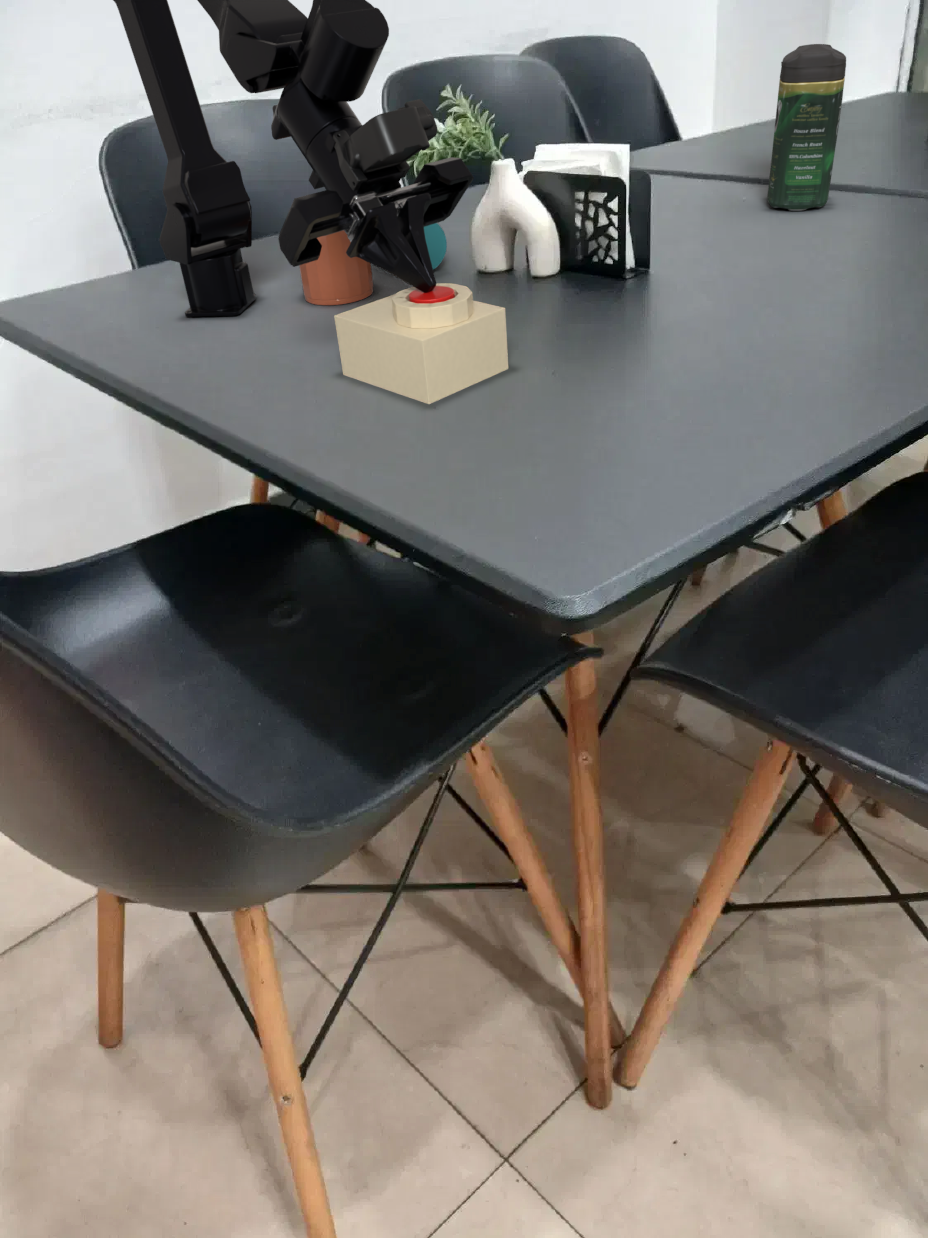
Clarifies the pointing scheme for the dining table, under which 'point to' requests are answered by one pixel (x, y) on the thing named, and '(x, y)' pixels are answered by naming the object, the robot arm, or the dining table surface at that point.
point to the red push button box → (423, 343)
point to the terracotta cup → (336, 274)
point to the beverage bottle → (435, 243)
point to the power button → (432, 295)
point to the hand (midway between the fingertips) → (431, 289)
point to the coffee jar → (806, 127)
